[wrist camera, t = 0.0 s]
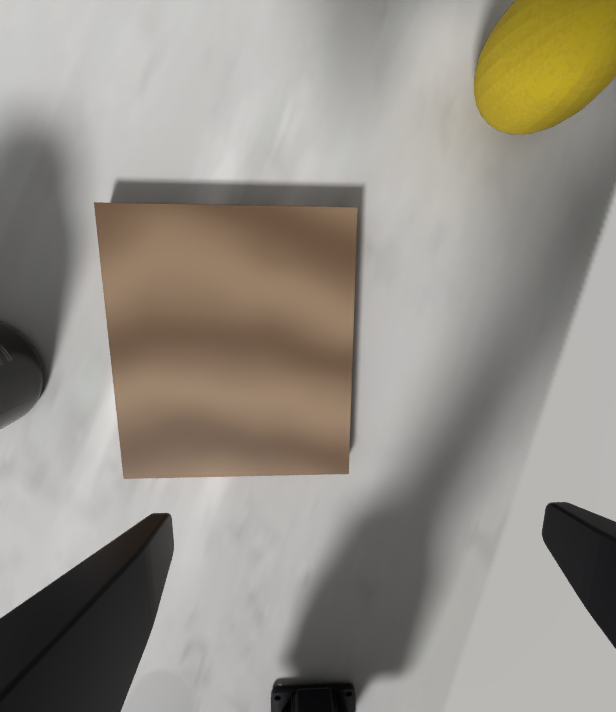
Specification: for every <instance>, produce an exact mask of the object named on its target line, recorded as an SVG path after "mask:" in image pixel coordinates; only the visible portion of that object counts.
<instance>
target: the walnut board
mask: <svg viewBox="0 0 616 712" xmlns="http://www.w3.org/2000/svg"><path fill="white" fill-rule="evenodd" d="M94 207H95V216H96V225H97V235H98V244H99V253H100V262H101V272H102V281H103V290H104V300H105V309H106V318H107V328H108V337H109V346H110V355H111V365H112V374H113V383H114V393H115V402H116V411H117V420H118V430H119V439H120V448H121V458H122V467H123V476H124V479H133V478H180V477H226V476H273V475H319V474H349V448H350V417H351V387H352V357H353V327H354V297H355V267H356V237H357V207H308V206H255V205H202V204H148V203H95V202H94Z"/></svg>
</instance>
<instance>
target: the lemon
mask: <svg viewBox="0 0 616 712" xmlns="http://www.w3.org/2000/svg"><path fill="white" fill-rule="evenodd" d="M615 77H616V0H516V1H515V2H514V3H513V4H512V5H511V6H510V7H509V9H508V10H507V11H506V13H505V14H504V15H503V16H502V18H501V19H500V20H499V22H498V23H497V24H496V25H495V27H494V29H493V30H492V32H491V33H490V35H489V37H488V39H487V41H486V43H485V45H484V48H483V50H482V52H481V54H480V57H479V59H478V64H477V68H476V72H475V77H474V95H475V100H476V105H477V107H478V110H479V112H480V114H481V116H482V117H483V118H484V119H485V121H486V122H487V123H488V124H489V125H491V126H492V127H493V128H495V129H496V130H498V131H501V132H505V133H508V134H530V133H534V132H538V131H541V130H545V129H548V128H550V127H553V126H555V125H557V124H559V123H560V122H562V121H564V120H565V119H567V118H569V117H571V116H572V115H574V114H576V113H577V112H579V111H580V110H581V109H583V108H584V107H585V106H586V105H587V104H589V103H590V102H591V101H592V100H593V99H594V98H595V97H596V96H597V95H598V94H599V93H600V92H601V91H602V90H604V89H605V88H606V87H607V86H608V85H609V84H610V83H611V81H612V80H613V79H614V78H615Z"/></svg>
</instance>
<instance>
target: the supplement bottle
mask: <svg viewBox="0 0 616 712" xmlns="http://www.w3.org/2000/svg"><path fill="white" fill-rule="evenodd" d="M42 387H43V370H42V366H41V362H40V360H39V357H38V355H37V353H36V352H35V350H34V348H33V347H32V346H31V344H30V343H29V342H28V341H27V340H26V339H25V338H24V337H23V336H22V335H21V334H20V333H19V332H17V331H16V330H14V329H13V328H11V327H10V326H8V325H6V324H4V323H2V322H0V429H2V428H4V427H6V426H7V425H9V424H11V423H13V422H15V421H16V420H18V419H20V418H21V417H23V416H24V415H25V414H27V413H28V412H29V411H30V410H31V409H32V408H33V407H34V405H35V404H36V402H37V401H38V399H39V397H40V394H41V391H42Z"/></svg>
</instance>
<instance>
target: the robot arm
mask: <svg viewBox="0 0 616 712" xmlns="http://www.w3.org/2000/svg"><path fill="white" fill-rule="evenodd" d="M542 537H543V540H544V542H545V544H546V546H547V548H548V549H549V551H550V552H551V554H552V556H553V557H554V559H555V560H556V562H557V563H558V565H559V567H560V568H561V570H562V571H563V573H564V574H565V576H566V578H567V579H568V581H569V583H570V584H571V586H572V587H573V589H574V590H575V592H576V594H577V595H578V597H579V598H580V600H581V601H582V603H583V604H584V606H585V607H586V609H587V610H588V612H589V613H590V614H591V616H592V617H593V619H594V620H595V621H596V623H597V624H598V626H599V627H600V628H601V629H602V631H603V632H604V634H605V635H606V636H607V637H608V639H609V640H610V642H611V643H612V644H613V646H614V647H615V648H616V522H615V521H612V520H610V519H607V518H605V517H602V516H600V515H597V514H595V513H592V512H590V511H587V510H585V509H582V508H580V507H577V506H575V505H573V504H570V503H566V502H553V503H549V504H548V505H547V506H546V509H545V516H544V522H543V528H542ZM173 551H174V539H173V527H172V518H171V515H170V514H169V513H154V514H151V515H149V516H148V517H146V518H145V519H143V520H142V521H140V522H139V523H137V524H136V525H135V526H133V527H132V528H130V529H129V530H127V531H126V532H124V533H123V534H122V535H120V536H119V537H117V538H116V539H114V540H113V541H111V542H110V543H109V544H107V545H106V546H104V547H103V548H101V549H100V550H99V551H97V552H96V553H94V554H93V555H91V556H90V557H88V558H87V559H86V560H84V561H83V562H81V563H80V564H78V565H77V566H75V567H74V568H73V569H71V570H70V571H68V572H67V573H65V574H64V575H62V576H61V577H60V578H58V579H57V580H55V581H54V582H52V583H51V584H49V585H48V586H47V587H45V588H44V589H42V590H41V591H39V592H38V593H36V594H35V595H34V596H32V597H31V598H29V599H28V600H26V601H25V602H23V603H22V604H21V605H19V606H18V607H16V608H15V609H13V610H12V611H10V612H9V613H8V614H6V615H5V616H3V617H2V618H0V712H121V709H122V706H123V704H124V701H125V699H126V696H127V693H128V691H129V688H130V686H131V683H132V680H133V678H134V675H135V673H136V670H137V667H138V665H139V662H140V660H141V657H142V654H143V652H144V649H145V647H146V644H147V642H148V639H149V636H150V633H151V630H152V628H153V624H154V621H155V618H156V614H157V611H158V607H159V603H160V600H161V596H162V592H163V589H164V585H165V582H166V578H167V574H168V571H169V567H170V564H171V560H172V556H173ZM354 710H355V690H354V686H353V685H352V684H349V683H346V684H327V685H309V686H290V687H276V688H274V689H273V690H272V692H271V712H354Z"/></svg>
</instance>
